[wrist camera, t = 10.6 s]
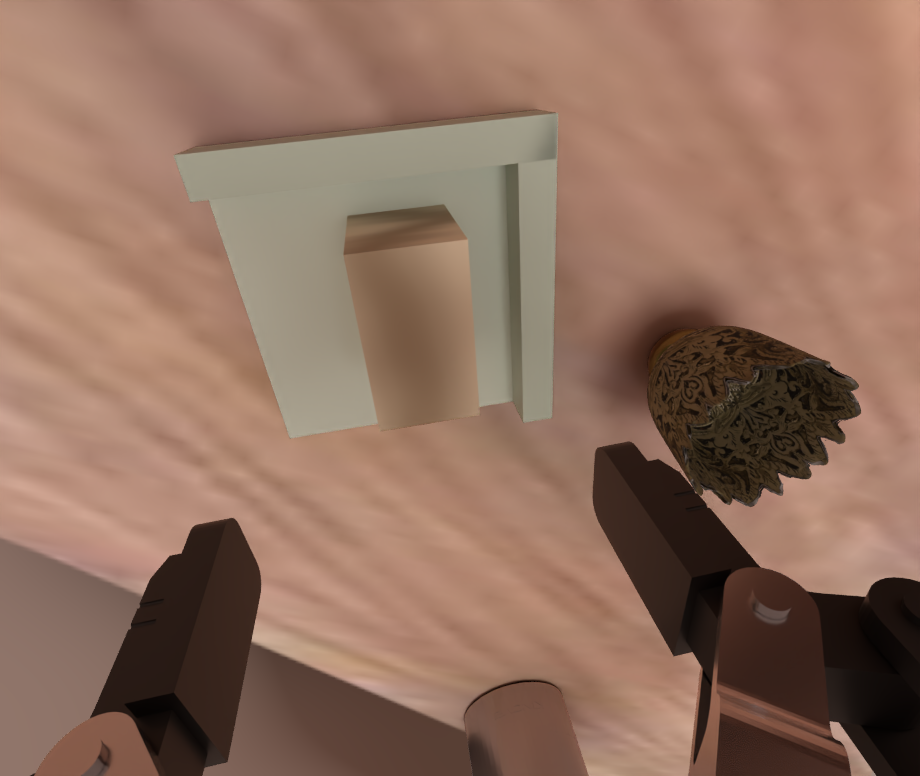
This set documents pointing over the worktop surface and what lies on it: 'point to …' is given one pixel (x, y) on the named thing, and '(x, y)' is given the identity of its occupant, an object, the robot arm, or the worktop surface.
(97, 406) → the worktop surface
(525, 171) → the corner tray
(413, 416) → the maple brick
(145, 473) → the worktop surface
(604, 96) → the worktop surface
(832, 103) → the worktop surface
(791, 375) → the cup
